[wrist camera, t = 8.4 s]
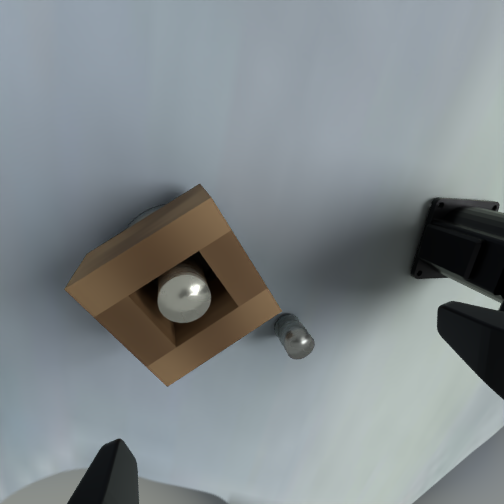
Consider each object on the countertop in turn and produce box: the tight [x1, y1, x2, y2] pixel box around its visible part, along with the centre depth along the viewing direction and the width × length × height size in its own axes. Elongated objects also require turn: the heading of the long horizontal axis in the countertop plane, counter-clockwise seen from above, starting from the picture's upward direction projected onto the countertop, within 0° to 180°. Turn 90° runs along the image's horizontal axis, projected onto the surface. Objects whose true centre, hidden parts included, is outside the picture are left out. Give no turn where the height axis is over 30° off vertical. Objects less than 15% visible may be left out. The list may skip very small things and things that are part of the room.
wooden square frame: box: [64, 184, 282, 387], centre depth 15 cm, size 7×7×4 cm
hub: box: [126, 204, 217, 323], centre depth 16 cm, size 7×7×5 cm
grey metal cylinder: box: [274, 315, 314, 359], centre depth 21 cm, size 2×2×2 cm
